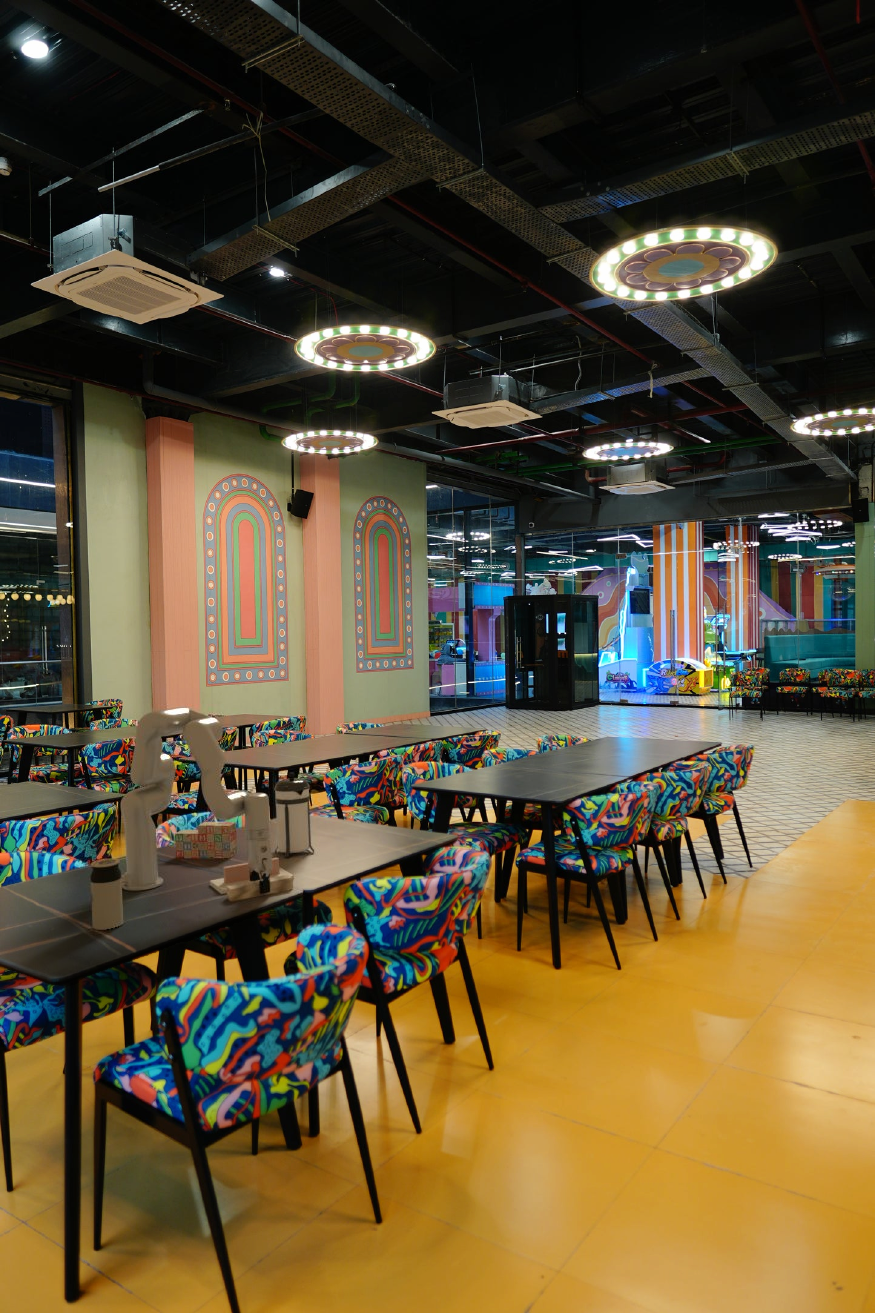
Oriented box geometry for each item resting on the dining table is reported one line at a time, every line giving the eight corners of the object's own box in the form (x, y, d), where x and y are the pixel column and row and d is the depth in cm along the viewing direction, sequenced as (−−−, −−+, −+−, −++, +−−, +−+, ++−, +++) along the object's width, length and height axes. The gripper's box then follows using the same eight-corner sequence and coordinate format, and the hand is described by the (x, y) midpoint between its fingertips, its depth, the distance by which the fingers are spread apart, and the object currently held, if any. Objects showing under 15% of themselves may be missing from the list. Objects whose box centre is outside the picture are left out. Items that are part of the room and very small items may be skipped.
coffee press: (322, 848, 312) (319, 768, 312) (304, 859, 297) (301, 775, 296) (280, 846, 317) (277, 768, 317) (260, 857, 302) (257, 775, 301)
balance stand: (221, 894, 259) (220, 873, 259) (210, 885, 269) (209, 865, 269) (294, 880, 271) (293, 860, 271) (280, 872, 282) (279, 853, 281)
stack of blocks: (175, 858, 305) (174, 825, 305) (183, 854, 312) (181, 821, 311) (230, 858, 302) (229, 825, 302) (237, 854, 308) (236, 821, 308)
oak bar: (231, 902, 251) (230, 889, 251) (226, 899, 254) (226, 886, 254) (293, 890, 262) (292, 877, 262) (288, 887, 265) (287, 874, 265)
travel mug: (127, 920, 237) (124, 857, 236) (117, 930, 229) (114, 865, 229) (99, 921, 237) (96, 858, 236) (88, 931, 229) (85, 866, 228)
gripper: (279, 836, 252) (281, 894, 253) (259, 827, 267) (262, 881, 267) (255, 840, 248) (258, 898, 249) (236, 830, 263) (239, 885, 263)
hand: (260, 889), depth 258 cm, fingers open, 8 cm apart
